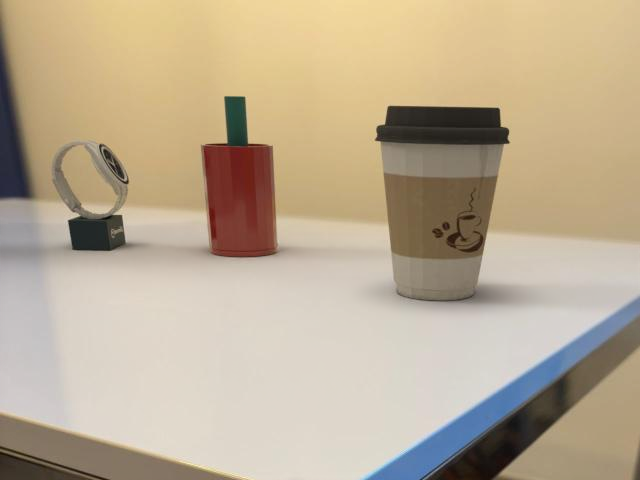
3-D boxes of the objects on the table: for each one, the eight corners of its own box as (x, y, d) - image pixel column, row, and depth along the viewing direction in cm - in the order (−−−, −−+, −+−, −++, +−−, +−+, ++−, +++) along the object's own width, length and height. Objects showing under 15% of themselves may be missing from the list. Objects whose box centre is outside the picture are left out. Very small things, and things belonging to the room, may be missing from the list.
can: (197, 250, 89) (187, 143, 84) (252, 243, 94) (246, 142, 89) (234, 259, 84) (226, 147, 79) (290, 252, 89) (286, 145, 84)
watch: (127, 250, 88) (113, 143, 83) (56, 249, 88) (38, 141, 83) (142, 242, 93) (129, 140, 88) (75, 241, 93) (58, 139, 88)
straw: (230, 245, 89) (219, 96, 82) (246, 243, 90) (237, 96, 83) (241, 247, 87) (231, 96, 80) (258, 245, 89) (249, 96, 82)
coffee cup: (421, 311, 64) (429, 106, 57) (349, 286, 72) (348, 105, 65) (524, 297, 70) (542, 108, 63) (446, 275, 78) (455, 106, 71)
